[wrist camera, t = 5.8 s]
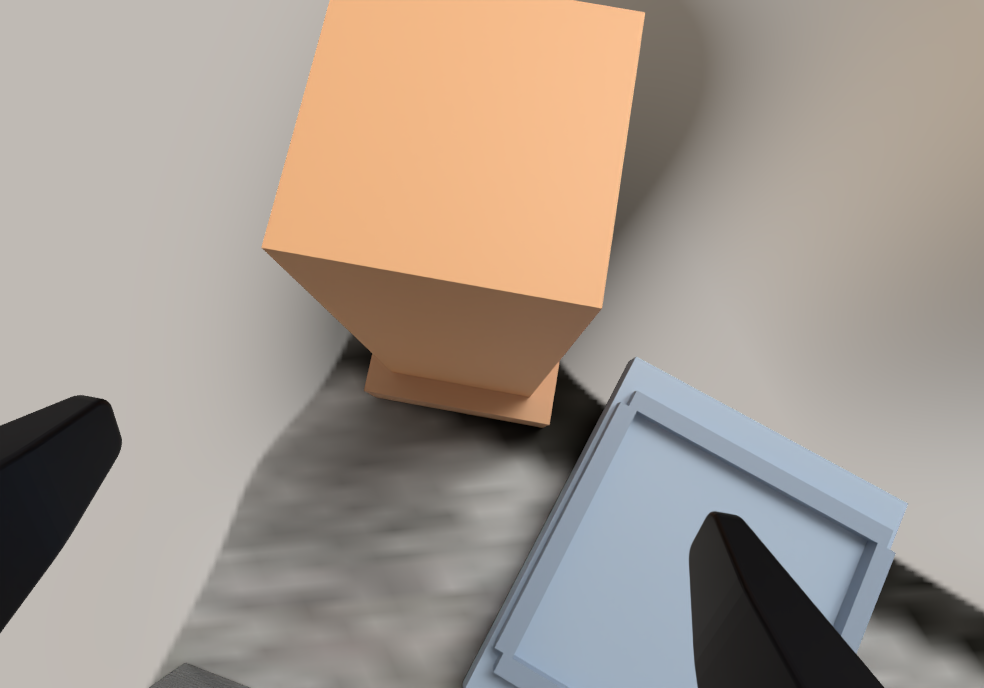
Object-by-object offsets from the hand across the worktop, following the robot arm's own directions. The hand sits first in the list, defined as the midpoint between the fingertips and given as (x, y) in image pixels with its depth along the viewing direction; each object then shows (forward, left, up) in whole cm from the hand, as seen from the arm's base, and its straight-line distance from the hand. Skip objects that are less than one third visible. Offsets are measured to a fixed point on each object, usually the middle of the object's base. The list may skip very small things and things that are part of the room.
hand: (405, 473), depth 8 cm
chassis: (-1, -9, -11) cm, 14 cm away
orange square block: (+5, +1, -11) cm, 12 cm away
